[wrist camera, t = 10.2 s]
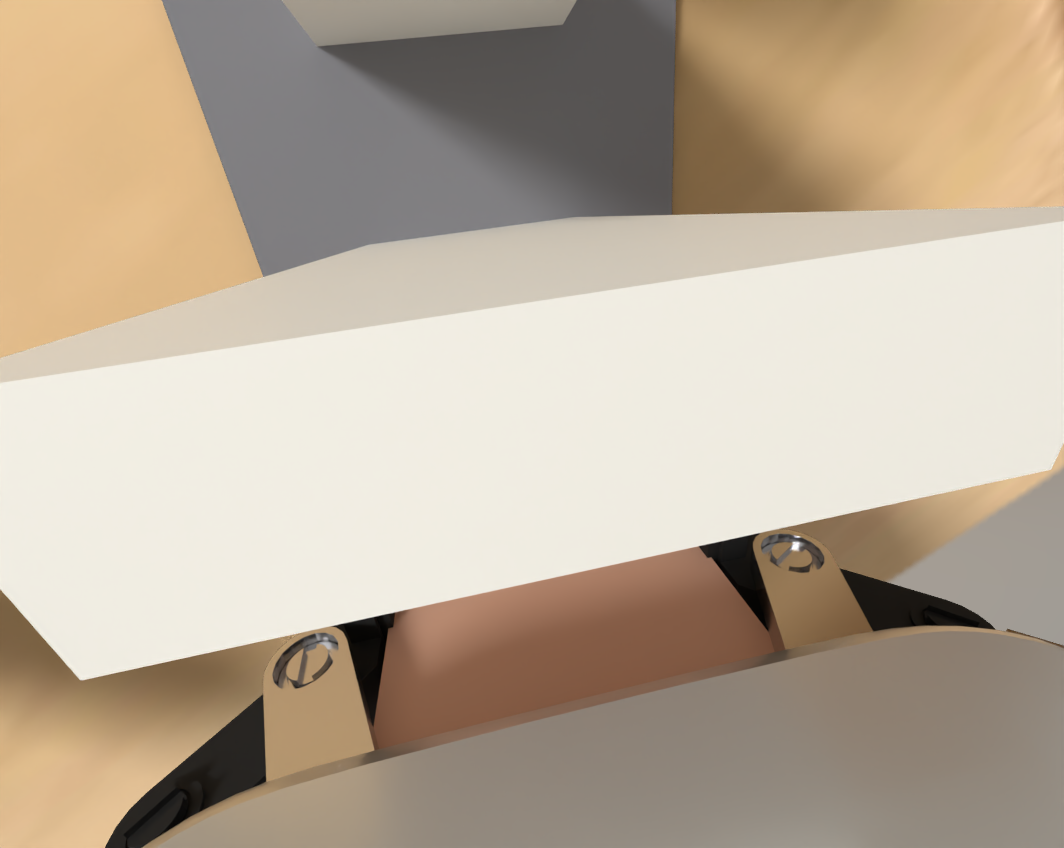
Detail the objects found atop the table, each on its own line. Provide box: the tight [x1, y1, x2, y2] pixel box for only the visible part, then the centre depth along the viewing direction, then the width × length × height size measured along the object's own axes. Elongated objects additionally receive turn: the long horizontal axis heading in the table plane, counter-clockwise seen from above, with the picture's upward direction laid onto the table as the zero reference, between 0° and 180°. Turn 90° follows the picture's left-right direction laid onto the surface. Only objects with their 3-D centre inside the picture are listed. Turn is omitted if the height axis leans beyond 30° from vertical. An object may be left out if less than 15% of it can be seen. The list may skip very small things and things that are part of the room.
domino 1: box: [0, 207, 1064, 680], centre depth 8 cm, size 2×6×12 cm, turn 97°
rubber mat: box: [162, 0, 676, 277], centre depth 15 cm, size 36×12×1 cm, turn 7°
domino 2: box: [374, 546, 774, 749], centre depth 9 cm, size 2×6×12 cm, turn 97°
